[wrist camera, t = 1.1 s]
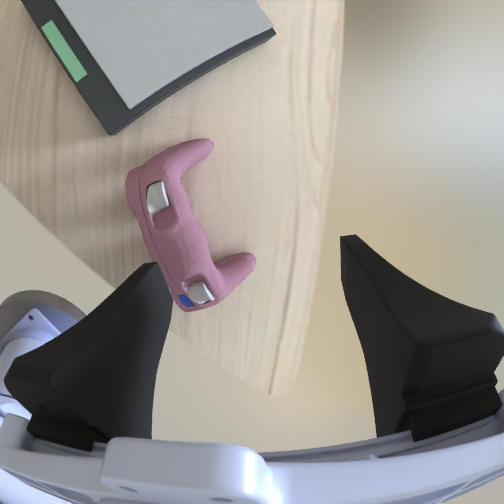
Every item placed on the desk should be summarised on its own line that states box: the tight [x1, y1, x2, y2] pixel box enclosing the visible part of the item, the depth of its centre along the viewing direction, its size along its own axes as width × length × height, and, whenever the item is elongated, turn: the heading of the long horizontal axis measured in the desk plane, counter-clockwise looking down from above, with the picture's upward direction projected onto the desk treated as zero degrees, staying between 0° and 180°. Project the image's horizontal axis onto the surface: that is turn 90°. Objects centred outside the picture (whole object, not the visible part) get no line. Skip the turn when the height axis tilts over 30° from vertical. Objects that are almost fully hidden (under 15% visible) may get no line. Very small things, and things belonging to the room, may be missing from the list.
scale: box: [21, 0, 276, 135], centre depth 14 cm, size 12×13×3 cm
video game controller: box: [126, 139, 256, 312], centre depth 19 cm, size 10×5×7 cm
